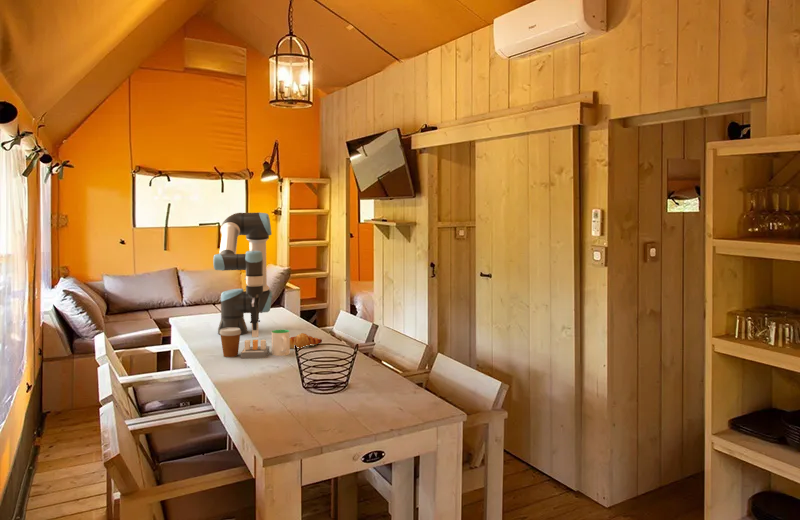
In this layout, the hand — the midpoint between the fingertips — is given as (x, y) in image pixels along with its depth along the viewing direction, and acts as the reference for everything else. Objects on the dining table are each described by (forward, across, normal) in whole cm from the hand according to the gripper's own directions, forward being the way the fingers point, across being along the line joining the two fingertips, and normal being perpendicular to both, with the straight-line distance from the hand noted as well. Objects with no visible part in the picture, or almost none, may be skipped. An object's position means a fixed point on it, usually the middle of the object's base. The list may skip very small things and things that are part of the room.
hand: (255, 336), depth 268 cm
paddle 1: (+6, 0, -4) cm, 7 cm away
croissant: (+9, -15, +19) cm, 26 cm away
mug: (+9, 0, +12) cm, 15 cm away
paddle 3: (+6, 0, +4) cm, 7 cm away
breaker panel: (+8, 0, 0) cm, 8 cm away
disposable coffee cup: (+9, 0, -11) cm, 14 cm away
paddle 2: (+6, 0, 0) cm, 6 cm away
